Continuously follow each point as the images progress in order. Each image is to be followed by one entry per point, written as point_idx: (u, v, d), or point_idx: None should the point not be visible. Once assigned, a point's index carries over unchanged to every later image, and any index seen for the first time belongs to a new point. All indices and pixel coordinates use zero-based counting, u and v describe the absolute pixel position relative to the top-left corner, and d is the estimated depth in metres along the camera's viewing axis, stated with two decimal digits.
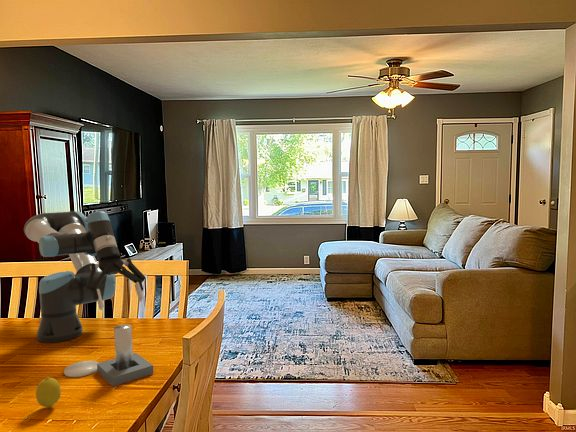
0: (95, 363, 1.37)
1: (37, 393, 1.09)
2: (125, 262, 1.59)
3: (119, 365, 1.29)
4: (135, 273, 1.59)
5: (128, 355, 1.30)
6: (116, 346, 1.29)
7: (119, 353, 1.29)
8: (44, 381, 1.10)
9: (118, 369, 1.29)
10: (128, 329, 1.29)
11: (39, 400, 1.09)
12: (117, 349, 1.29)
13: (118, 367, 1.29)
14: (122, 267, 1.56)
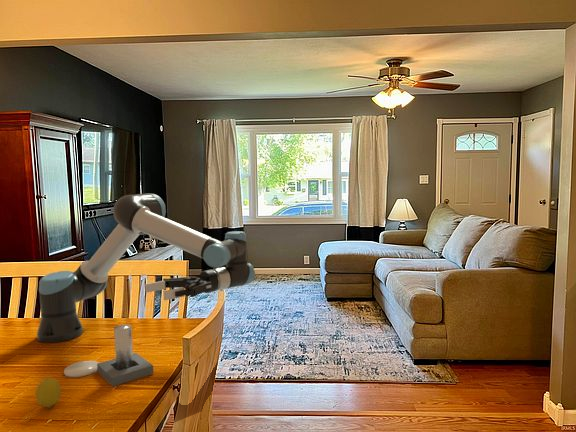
0: (95, 363, 1.37)
1: (37, 393, 1.09)
2: None
3: (119, 365, 1.29)
4: None
5: (128, 355, 1.30)
6: (116, 346, 1.29)
7: (119, 353, 1.29)
8: (44, 381, 1.10)
9: (118, 369, 1.29)
10: (128, 329, 1.29)
11: (39, 400, 1.09)
12: (117, 349, 1.29)
13: (118, 367, 1.29)
14: None
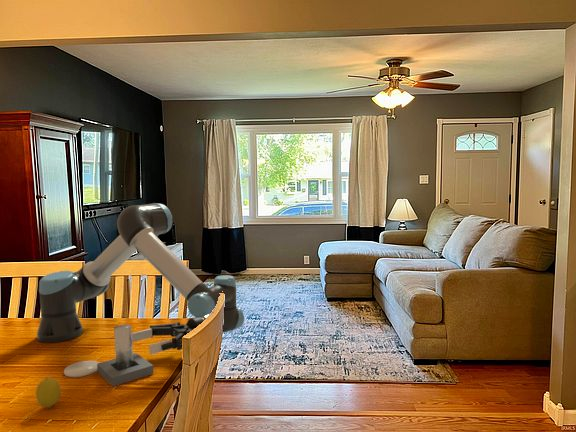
0: (95, 363, 1.37)
1: (37, 393, 1.09)
2: None
3: (119, 365, 1.29)
4: None
5: (128, 355, 1.30)
6: (116, 346, 1.29)
7: (119, 353, 1.29)
8: (44, 381, 1.10)
9: (118, 369, 1.29)
10: (128, 329, 1.29)
11: (39, 400, 1.09)
12: (117, 349, 1.29)
13: (118, 367, 1.29)
14: None
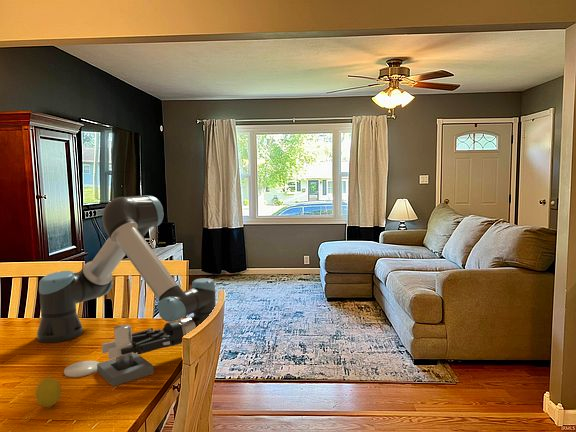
0: (95, 363, 1.37)
1: (37, 393, 1.09)
2: None
3: (119, 365, 1.29)
4: None
5: (128, 355, 1.30)
6: (116, 346, 1.29)
7: None
8: (44, 381, 1.10)
9: (118, 369, 1.29)
10: (128, 329, 1.29)
11: (39, 400, 1.09)
12: None
13: (118, 367, 1.29)
14: None
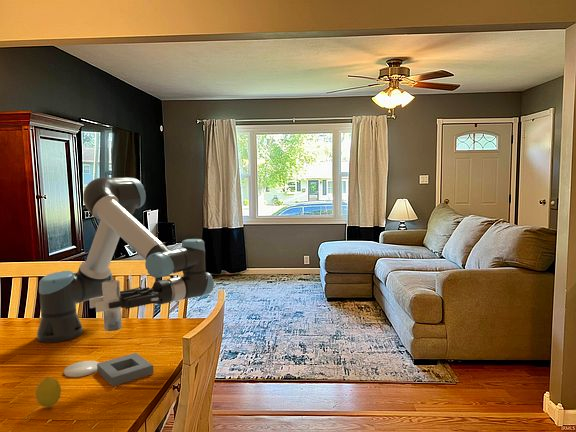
0: (95, 363, 1.37)
1: (37, 393, 1.09)
2: None
3: (107, 320, 1.28)
4: None
5: (116, 310, 1.29)
6: None
7: None
8: (44, 381, 1.10)
9: (106, 324, 1.28)
10: (116, 284, 1.28)
11: (39, 400, 1.09)
12: None
13: (106, 322, 1.28)
14: None
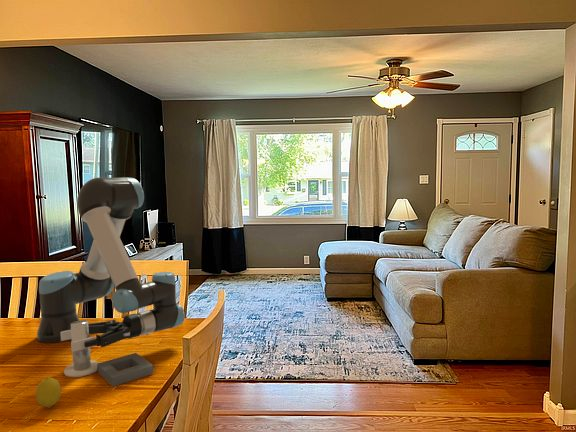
0: (95, 363, 1.37)
1: (37, 393, 1.09)
2: None
3: (75, 360, 1.31)
4: None
5: (84, 350, 1.32)
6: (72, 341, 1.31)
7: None
8: (44, 381, 1.10)
9: (75, 364, 1.32)
10: (84, 324, 1.32)
11: (39, 400, 1.09)
12: None
13: (74, 362, 1.32)
14: None
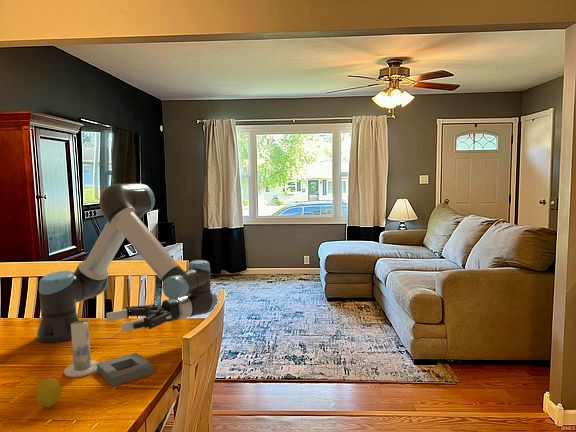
0: (95, 363, 1.37)
1: (37, 393, 1.09)
2: None
3: (75, 360, 1.31)
4: None
5: (84, 350, 1.32)
6: (72, 341, 1.31)
7: (75, 348, 1.31)
8: (44, 381, 1.10)
9: (75, 364, 1.32)
10: (84, 325, 1.32)
11: (39, 400, 1.09)
12: (73, 344, 1.31)
13: (74, 362, 1.32)
14: None
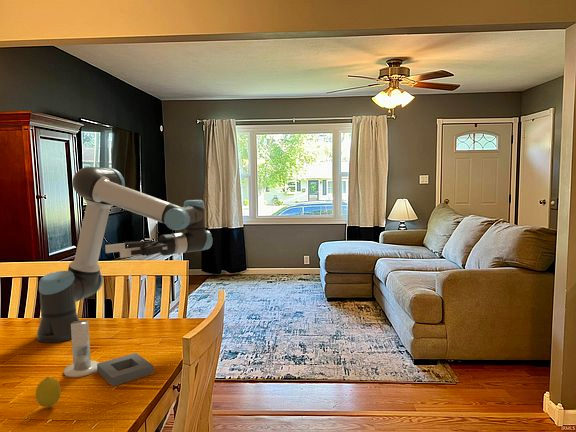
0: (95, 363, 1.37)
1: (37, 393, 1.09)
2: None
3: (75, 360, 1.31)
4: None
5: (84, 350, 1.32)
6: (72, 341, 1.31)
7: (75, 348, 1.31)
8: (44, 381, 1.10)
9: (75, 364, 1.32)
10: (84, 325, 1.32)
11: (39, 400, 1.09)
12: (73, 344, 1.31)
13: (74, 362, 1.32)
14: None
